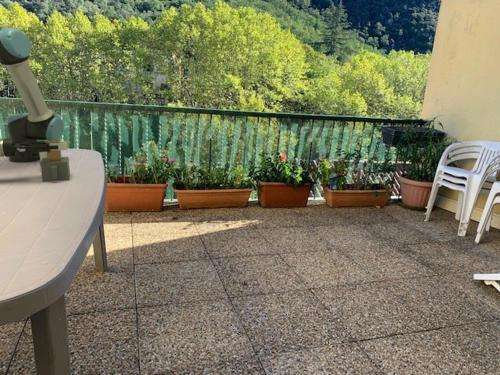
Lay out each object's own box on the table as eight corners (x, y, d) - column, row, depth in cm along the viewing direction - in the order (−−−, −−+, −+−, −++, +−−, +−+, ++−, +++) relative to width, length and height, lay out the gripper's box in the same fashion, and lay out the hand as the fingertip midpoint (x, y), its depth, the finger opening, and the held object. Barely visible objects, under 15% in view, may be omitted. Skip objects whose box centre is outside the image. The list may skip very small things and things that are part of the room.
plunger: (50, 173, 167) (46, 140, 163) (63, 173, 169) (59, 140, 165) (49, 176, 164) (45, 142, 159) (62, 175, 165) (58, 141, 161)
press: (45, 175, 169) (42, 157, 167) (70, 174, 173) (68, 156, 171) (41, 183, 158) (39, 164, 155) (68, 182, 161) (66, 163, 159)
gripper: (9, 152, 165) (69, 150, 173) (0, 161, 150) (67, 158, 158) (6, 135, 163) (67, 133, 171) (-3, 142, 147) (65, 140, 156)
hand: (67, 145), depth 165 cm, fingers closed on plunger, 4 cm apart
